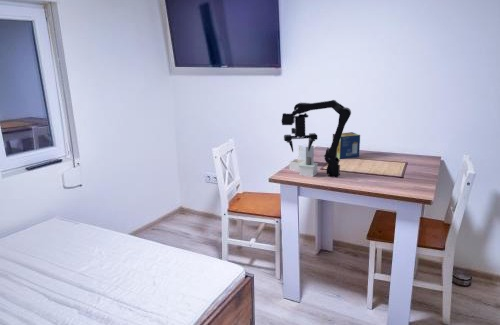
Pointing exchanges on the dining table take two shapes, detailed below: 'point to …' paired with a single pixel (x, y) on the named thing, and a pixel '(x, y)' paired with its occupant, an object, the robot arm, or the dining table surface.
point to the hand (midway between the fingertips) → (300, 151)
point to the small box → (305, 152)
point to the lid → (308, 163)
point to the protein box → (348, 145)
